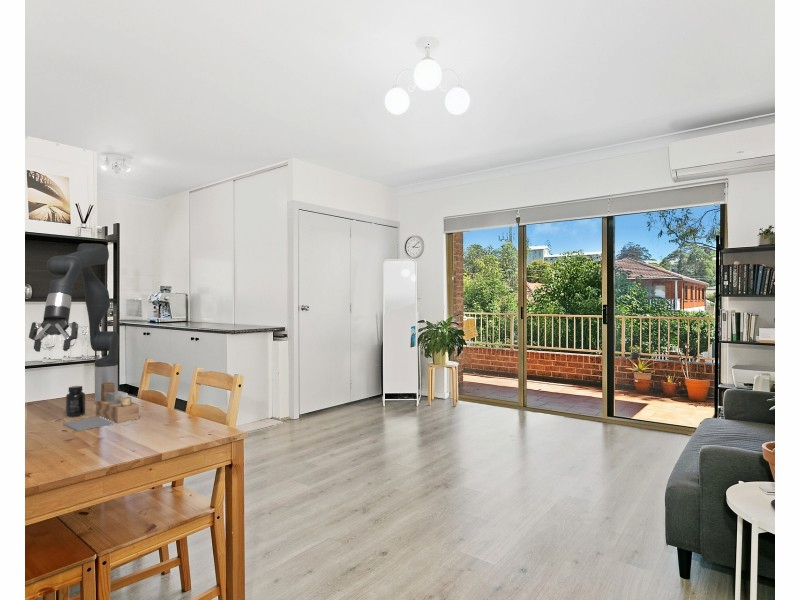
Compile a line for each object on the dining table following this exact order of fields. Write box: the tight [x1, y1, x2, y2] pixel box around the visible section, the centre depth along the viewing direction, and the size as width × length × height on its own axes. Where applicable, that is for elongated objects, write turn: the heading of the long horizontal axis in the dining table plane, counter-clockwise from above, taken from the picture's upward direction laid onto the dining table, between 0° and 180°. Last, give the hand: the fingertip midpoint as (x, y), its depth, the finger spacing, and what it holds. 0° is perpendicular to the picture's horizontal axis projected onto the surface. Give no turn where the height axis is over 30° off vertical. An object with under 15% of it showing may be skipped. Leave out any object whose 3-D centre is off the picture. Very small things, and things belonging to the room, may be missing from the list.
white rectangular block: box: [106, 390, 129, 405], centre depth 198 cm, size 8×5×4 cm, turn 54°
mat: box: [62, 416, 114, 432], centre depth 186 cm, size 14×12×1 cm
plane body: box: [95, 382, 140, 424], centre depth 198 cm, size 20×8×13 cm, turn 54°
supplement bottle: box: [65, 385, 86, 418], centre depth 201 cm, size 7×7×12 cm
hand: (51, 350), depth 169 cm, fingers open, 8 cm apart
